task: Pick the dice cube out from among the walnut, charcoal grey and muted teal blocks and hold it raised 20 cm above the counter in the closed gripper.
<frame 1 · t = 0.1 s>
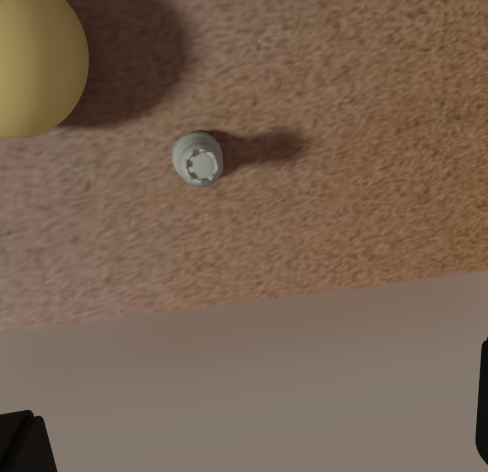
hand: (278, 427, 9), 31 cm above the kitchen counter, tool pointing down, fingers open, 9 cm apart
rook chess piece: (197, 156, 38), on the kitchen counter
yellow rounded piece: (19, 59, 34), on the kitchen counter
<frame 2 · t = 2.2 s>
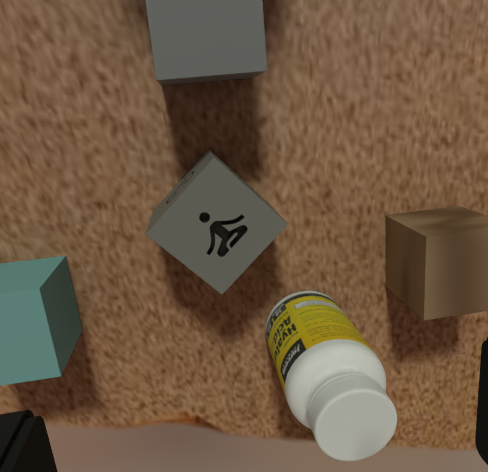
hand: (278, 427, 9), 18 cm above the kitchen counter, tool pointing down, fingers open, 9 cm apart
supplement bottle: (301, 323, 29), on the kitchen counter
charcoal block: (201, 33, 23), on the kitchen counter
dice cube: (211, 206, 26), on the kitchen counter
teal block: (32, 299, 26), on the kitchen counter
walnut block: (420, 246, 29), on the kitchen counter
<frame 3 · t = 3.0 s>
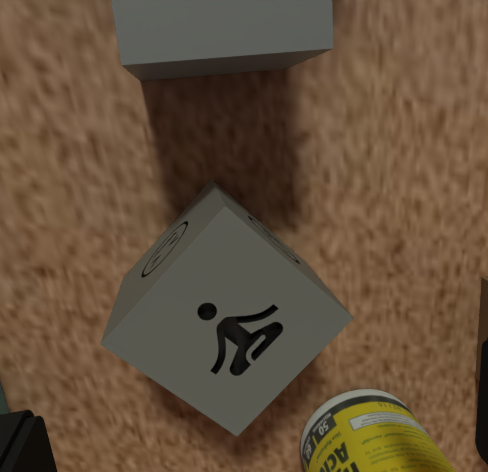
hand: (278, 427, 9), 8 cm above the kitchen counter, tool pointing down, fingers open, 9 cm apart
supplement bottle: (352, 432, 20), on the kitchen counter
dice cube: (216, 267, 17), on the kitchen counter
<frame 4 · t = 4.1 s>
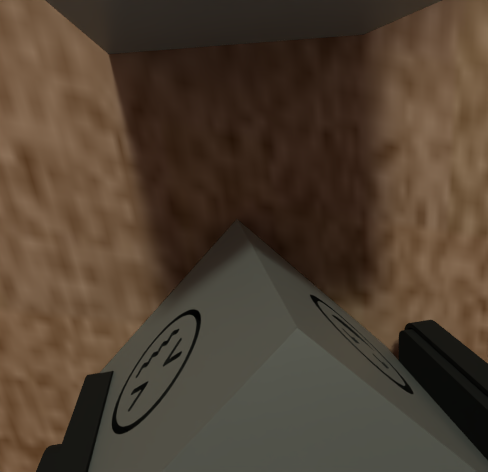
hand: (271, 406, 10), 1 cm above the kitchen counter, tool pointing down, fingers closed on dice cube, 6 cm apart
dice cube: (243, 359, 10), on the kitchen counter, touching gripper
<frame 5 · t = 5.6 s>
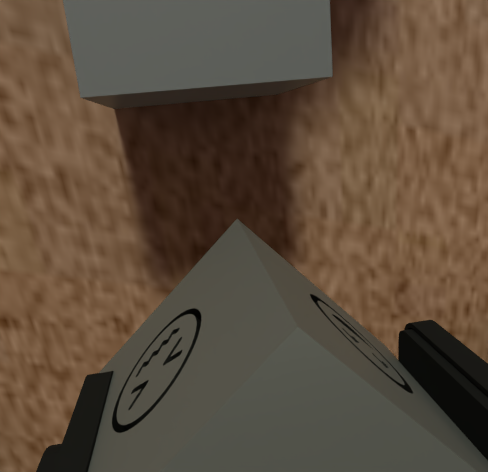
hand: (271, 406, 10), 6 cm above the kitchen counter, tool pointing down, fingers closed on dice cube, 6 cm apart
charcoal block: (187, 12, 13), on the kitchen counter
dice cube: (243, 358, 10), point 5 cm above the kitchen counter, touching gripper
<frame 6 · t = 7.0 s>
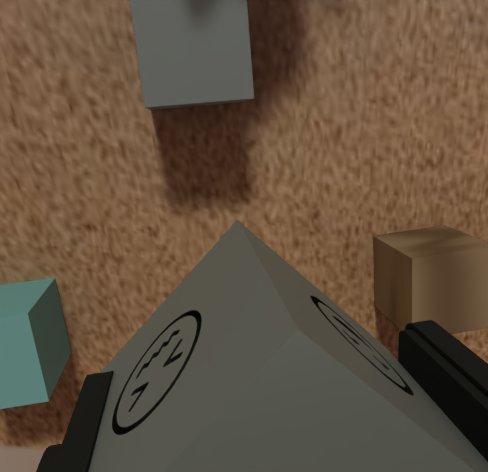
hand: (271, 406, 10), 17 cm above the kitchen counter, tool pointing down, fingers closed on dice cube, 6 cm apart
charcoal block: (190, 59, 24), on the kitchen counter
dice cube: (243, 359, 10), point 16 cm above the kitchen counter, touching gripper
teal block: (20, 321, 26), on the kitchen counter
walnut block: (408, 265, 29), on the kitchen counter
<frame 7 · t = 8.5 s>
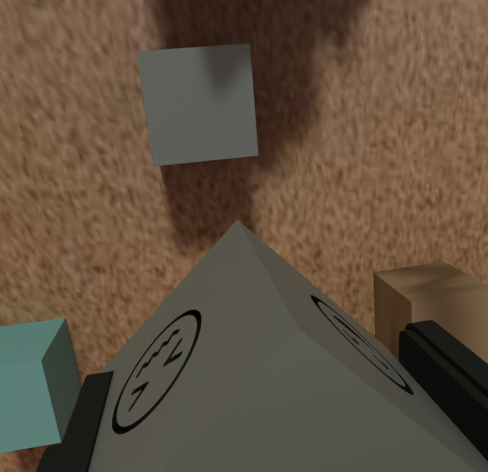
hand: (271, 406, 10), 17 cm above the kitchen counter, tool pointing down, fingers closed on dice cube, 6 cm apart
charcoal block: (196, 108, 25), on the kitchen counter
dice cube: (243, 359, 10), point 16 cm above the kitchen counter, touching gripper
teal block: (32, 359, 27), on the kitchen counter
walnut block: (408, 300, 30), on the kitchen counter
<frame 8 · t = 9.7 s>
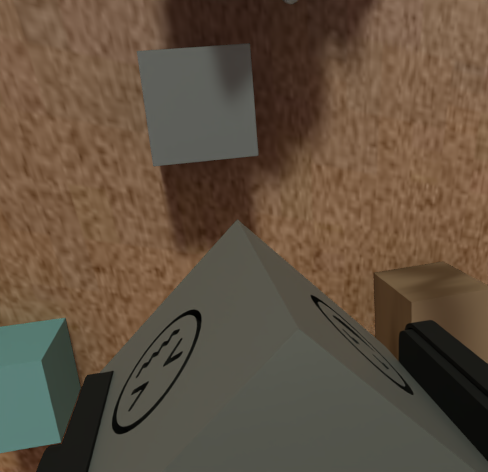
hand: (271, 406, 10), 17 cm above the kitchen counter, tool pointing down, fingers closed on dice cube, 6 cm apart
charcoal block: (196, 108, 25), on the kitchen counter
dice cube: (243, 359, 10), point 16 cm above the kitchen counter, touching gripper
teal block: (32, 359, 27), on the kitchen counter
walnut block: (408, 300, 30), on the kitchen counter
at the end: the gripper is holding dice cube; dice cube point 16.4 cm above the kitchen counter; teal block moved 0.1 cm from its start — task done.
